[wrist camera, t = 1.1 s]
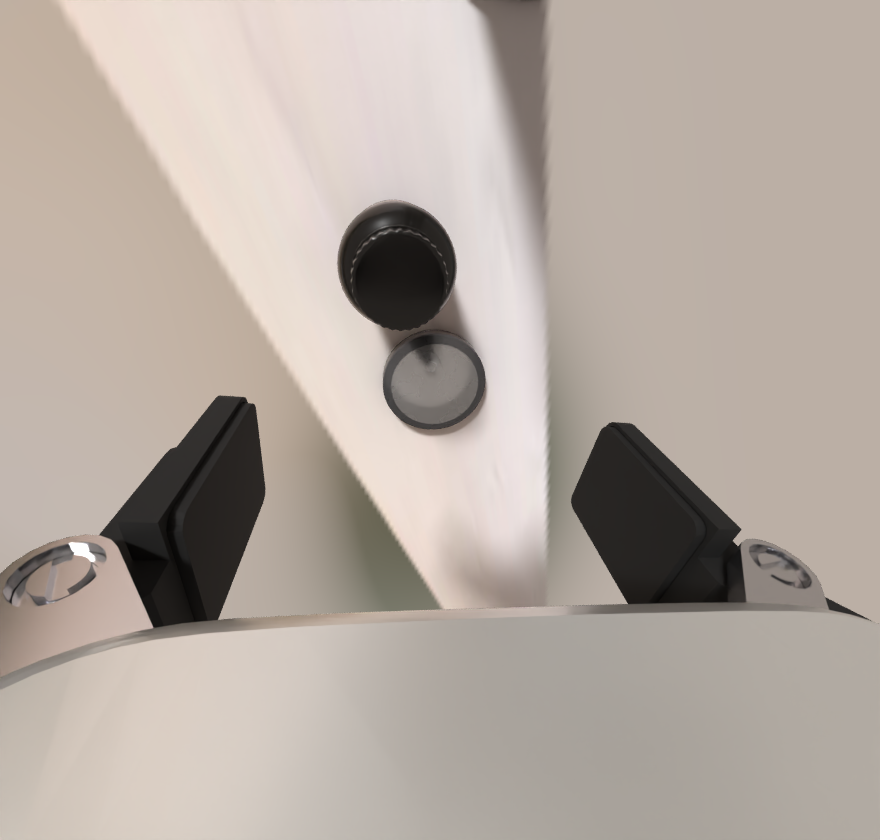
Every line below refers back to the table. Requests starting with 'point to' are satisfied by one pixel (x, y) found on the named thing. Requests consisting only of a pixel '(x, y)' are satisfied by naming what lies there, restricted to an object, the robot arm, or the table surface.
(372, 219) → the supplement bottle
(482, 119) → the table surface
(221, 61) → the table surface
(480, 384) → the plate
